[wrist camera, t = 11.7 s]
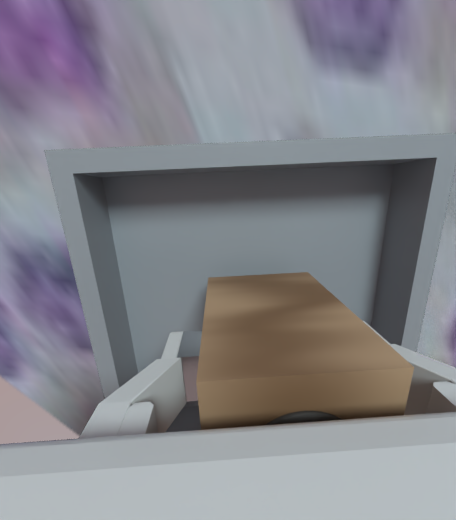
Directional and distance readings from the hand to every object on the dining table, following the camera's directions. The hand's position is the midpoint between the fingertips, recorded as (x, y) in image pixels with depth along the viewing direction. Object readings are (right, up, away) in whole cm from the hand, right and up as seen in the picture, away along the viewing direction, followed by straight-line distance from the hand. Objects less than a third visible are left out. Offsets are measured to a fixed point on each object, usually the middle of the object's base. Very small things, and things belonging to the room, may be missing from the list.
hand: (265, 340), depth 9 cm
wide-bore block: (0, 0, +2) cm, 2 cm away
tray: (0, +1, +4) cm, 4 cm away
